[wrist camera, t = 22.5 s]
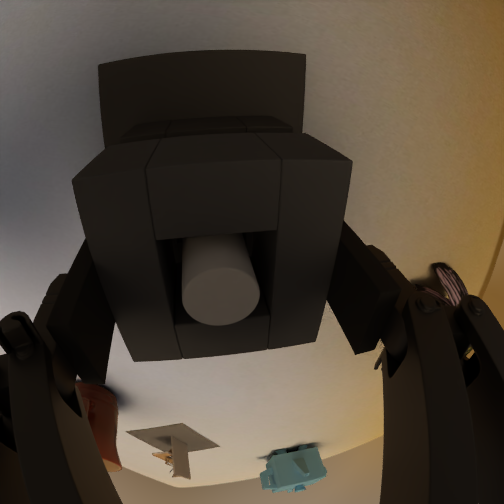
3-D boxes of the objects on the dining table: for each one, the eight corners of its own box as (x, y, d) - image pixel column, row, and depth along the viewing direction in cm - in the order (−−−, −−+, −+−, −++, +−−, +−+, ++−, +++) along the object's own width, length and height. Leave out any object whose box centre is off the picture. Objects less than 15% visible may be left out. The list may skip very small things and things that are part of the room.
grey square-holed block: (107, 145, 10) (70, 179, 7) (306, 132, 11) (353, 160, 8) (140, 299, 14) (133, 362, 11) (291, 285, 16) (316, 342, 12)
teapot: (329, 434, 54) (344, 475, 45) (306, 456, 64) (317, 490, 55) (261, 447, 51) (273, 493, 42) (250, 466, 61) (258, 502, 51)
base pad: (104, 65, 13) (-17, 65, 3) (298, 55, 15) (434, 48, 5) (137, 276, 22) (119, 415, 12) (284, 263, 24) (340, 389, 14)
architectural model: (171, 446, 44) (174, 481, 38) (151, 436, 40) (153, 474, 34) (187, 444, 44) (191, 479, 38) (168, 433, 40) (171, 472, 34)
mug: (123, 411, 34) (122, 475, 26) (67, 399, 31) (59, 462, 23) (125, 369, 28) (120, 452, 20) (54, 353, 25) (36, 432, 17)
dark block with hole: (134, 124, 14) (117, 138, 11) (272, 115, 16) (293, 126, 13) (151, 242, 19) (144, 279, 16) (267, 232, 20) (282, 266, 17)
